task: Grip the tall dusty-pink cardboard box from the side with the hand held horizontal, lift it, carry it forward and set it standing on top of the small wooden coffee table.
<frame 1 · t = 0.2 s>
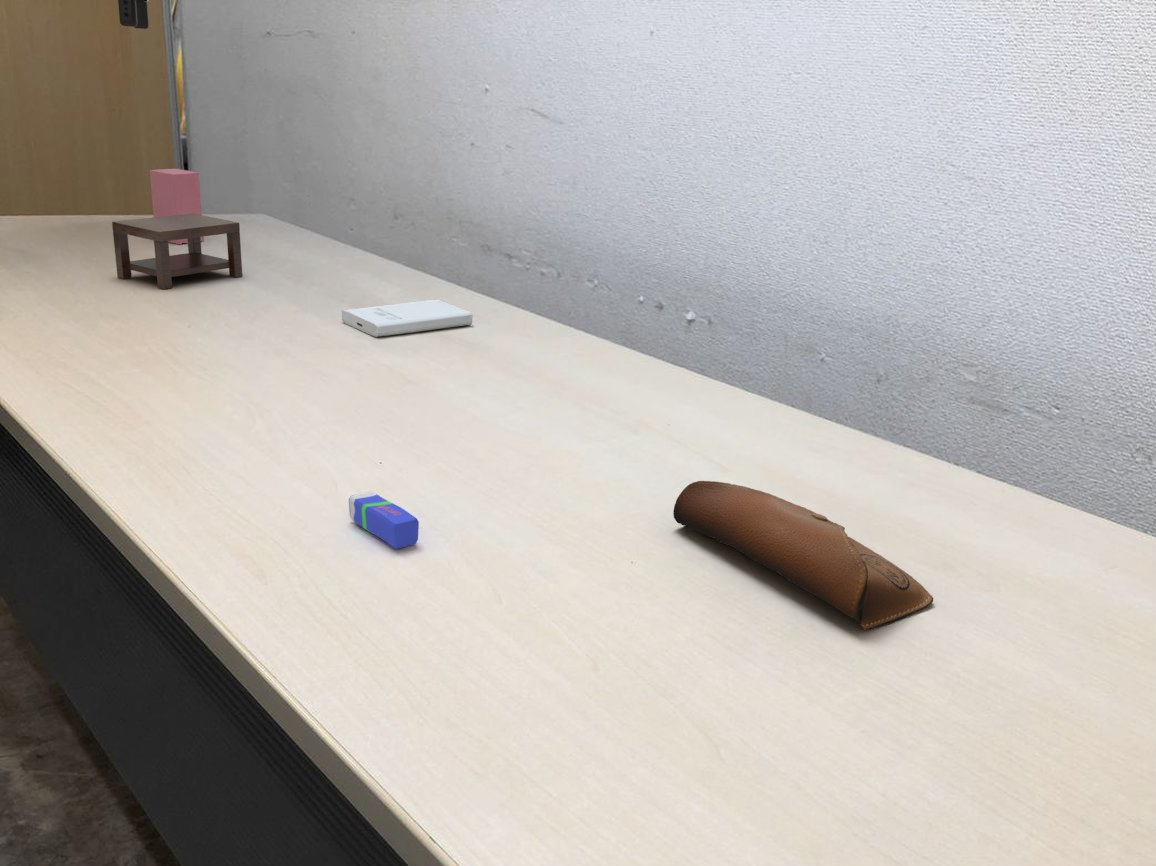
hand: (135, 27, 162), 29 cm above the table, tool pointing down, fingers open, 8 cm apart
sunglasses case: (797, 567, 77), on the table
pink box: (179, 240, 167), on the table
wooden coffee table: (181, 277, 144), on the table
eraser: (383, 535, 77), on the table
hard drive: (407, 325, 130), on the table
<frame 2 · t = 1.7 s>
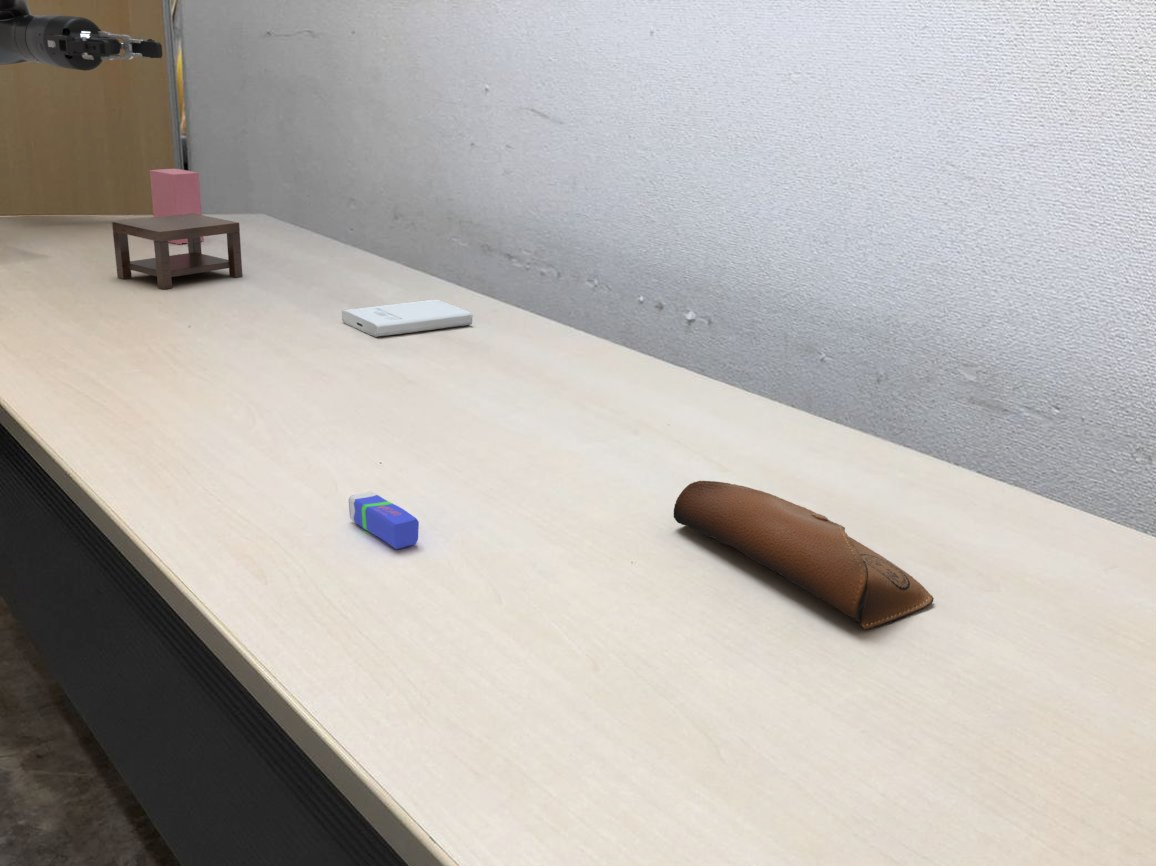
hand: (134, 49, 162), 26 cm above the table, tool horizontal, fingers open, 8 cm apart
nothing on the table moved.
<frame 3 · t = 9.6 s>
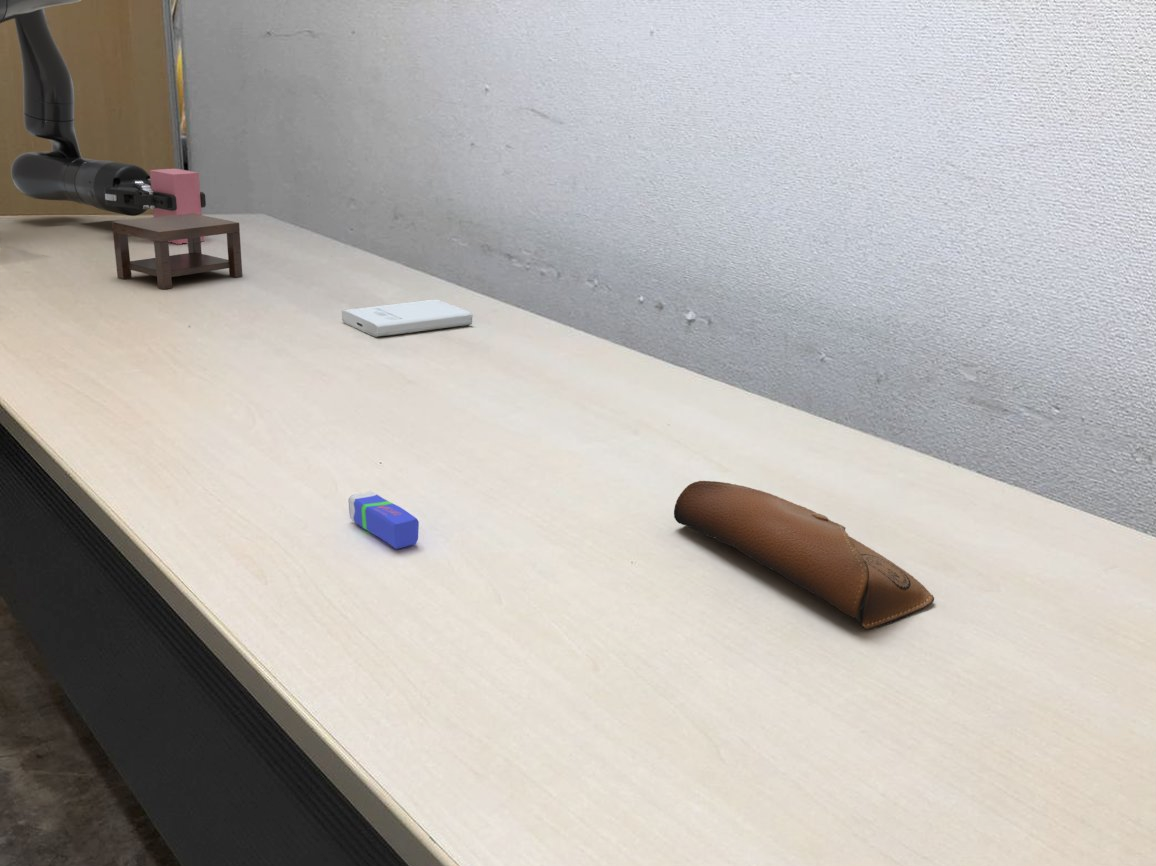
hand: (188, 201, 163), 6 cm above the table, tool horizontal, fingers closed on pink box, 4 cm apart
pink box: (179, 240, 167), on the table, touching gripper
everything else where it was.
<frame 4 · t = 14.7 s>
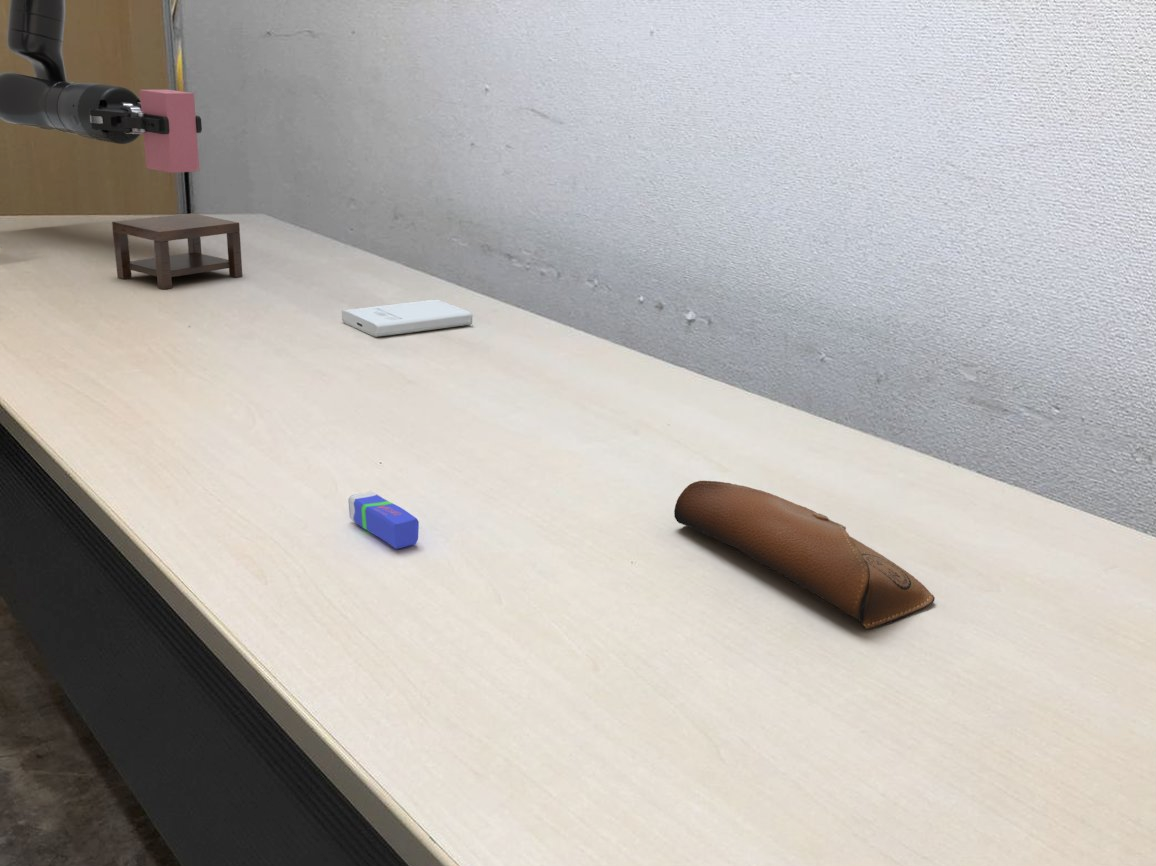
hand: (183, 125, 147), 18 cm above the table, tool horizontal, fingers closed on pink box, 4 cm apart
pink box: (173, 169, 151), point 12 cm above the table, touching gripper
everything else where it was.
when the fingers open (13 cm above the table, at t = 20.0 s): pink box stays where it is, resting on wooden coffee table.
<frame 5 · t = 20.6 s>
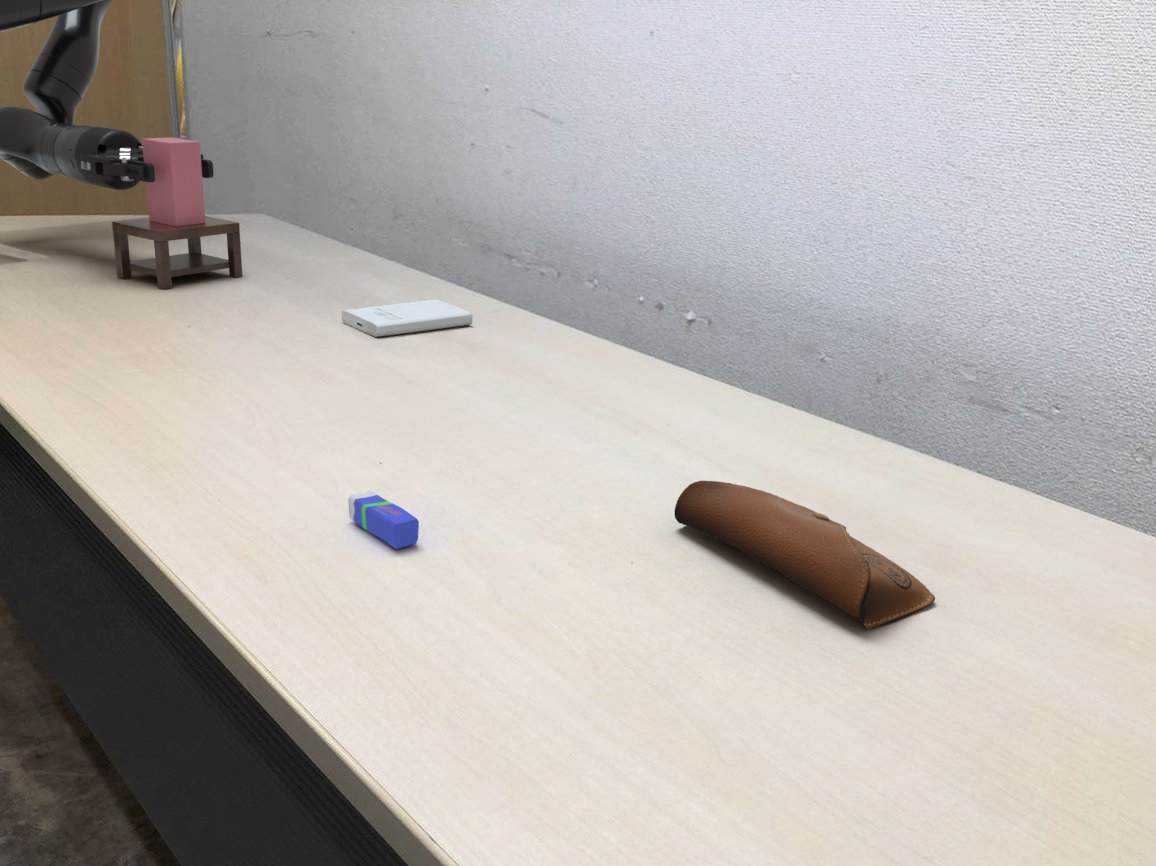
hand: (182, 171, 138), 13 cm above the table, tool horizontal, fingers open, 8 cm apart
pink box: (177, 222, 142), point 7 cm above the table, touching wooden coffee table
everything else where it was.
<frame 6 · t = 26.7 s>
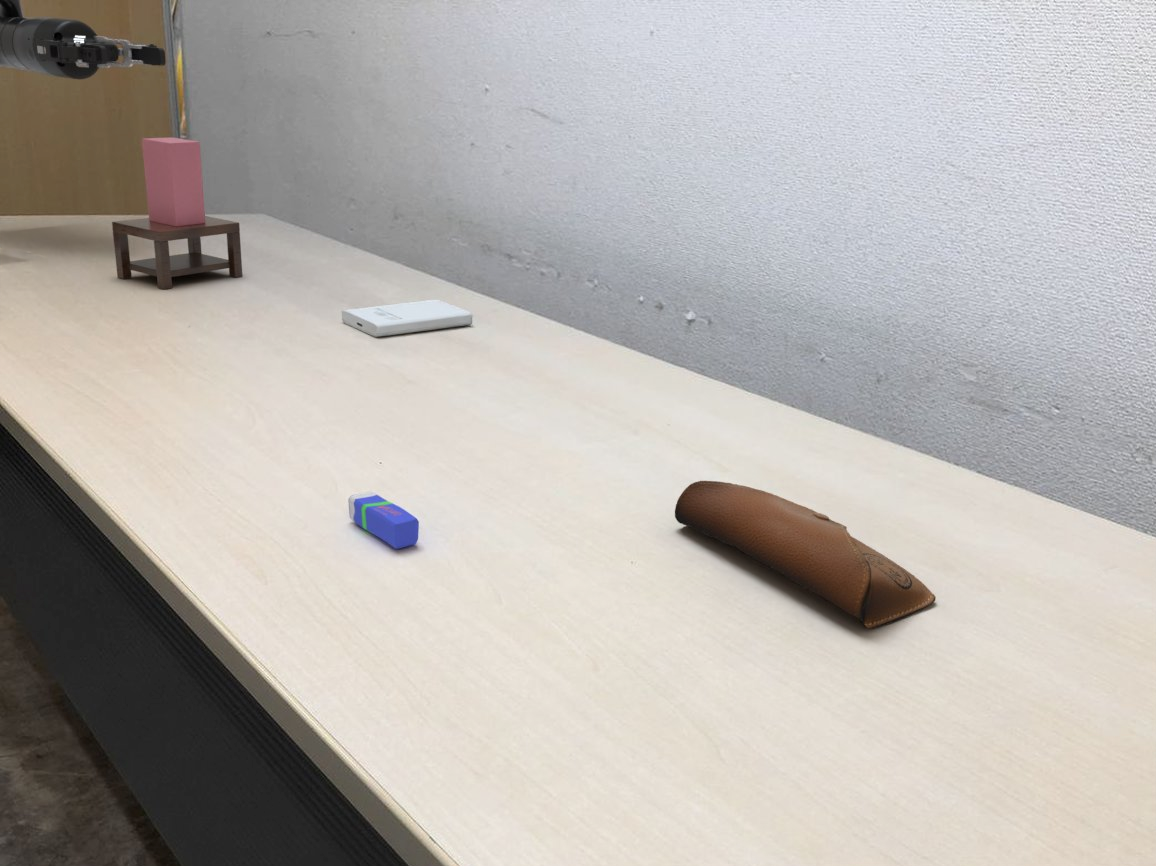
hand: (134, 56, 145), 26 cm above the table, tool horizontal, fingers open, 8 cm apart
nothing on the table moved.
at the end: pink box inside the target area on the wooden coffee table (0.1 cm from its centre), point 7.0 cm above the wooden coffee table's base; pink box tilted 0°; the gripper is holding nothing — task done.
